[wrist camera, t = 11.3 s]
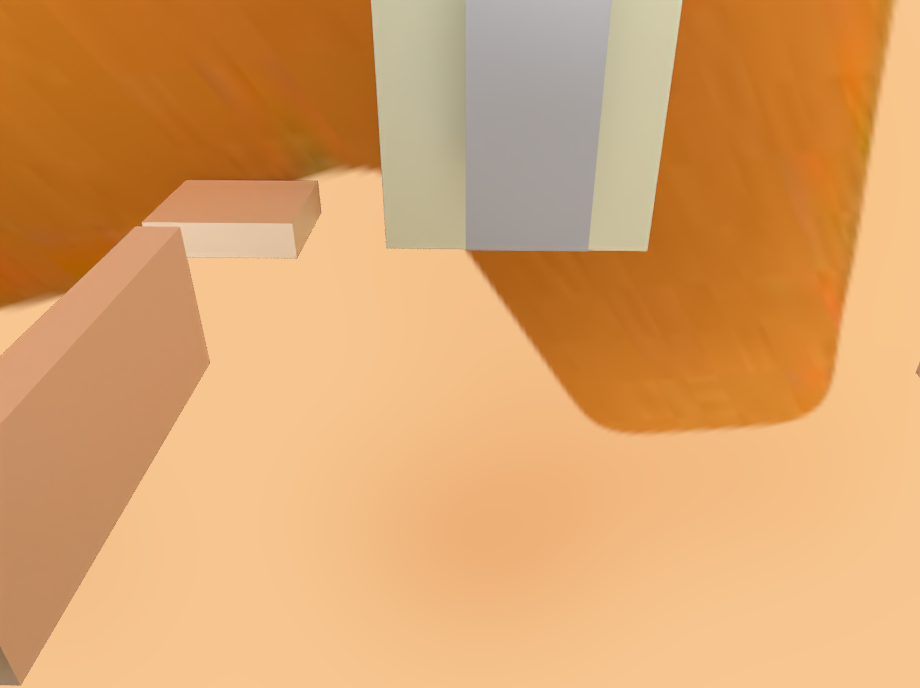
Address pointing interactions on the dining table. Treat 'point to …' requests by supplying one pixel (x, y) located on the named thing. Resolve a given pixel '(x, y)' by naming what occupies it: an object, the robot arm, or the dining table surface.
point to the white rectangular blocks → (241, 217)
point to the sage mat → (444, 121)
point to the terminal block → (533, 121)
